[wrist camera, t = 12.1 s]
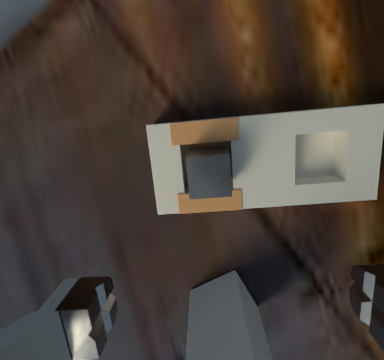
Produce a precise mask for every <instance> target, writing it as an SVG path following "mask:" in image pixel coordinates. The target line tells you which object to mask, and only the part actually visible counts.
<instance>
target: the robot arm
mask: <svg viewBox="0 0 384 360" xmlns="http://www.w3.org/2000/svg"><path fill="white" fill-rule="evenodd" d="M351 277H352V278H353V280H354V281H355V283H354V284H353V285H352V286H351V287H350V296H349V297H350V301H351V305H352V308H353V310H354V312H355V314H356V315H357V316H358V318H359V319H360V320H361V321H363V322H365V323H366V324H368V325H370V328H369V332H370V334H371V335H372V336H373V338H374V339H375V340H376V342H377V343H378V344H379V346H380V347H381V348H382V350H383V351H384V264H367V265H354V266H353V268H352V270H351ZM113 287H114V286H113V282H112V279H111V278H110V277H109V276H108V277H82V278H81V277H74V278H67V279H65V280H64V281H63V282H62V283H61V284H60V286H59V287H58V288H57V289H56V290H55V291H54V293H53V294H52V295H51V296H50V297H49V299H48V300H47V301H46V302H45V303H44V304H43V306H42V307H41V308H40V309H39V310H38V311H37V312H32V313H30V314H28V315H27V316H25V317H23V318H21V319H20V320H18V321H16V322H15V323H13V324H11V325H9V326H8V327H6V328H4V329H2V330H1V331H0V360H89V359H99V358H100V355H101V353H102V351H103V349H104V346H105V344H106V342H107V336H106V333H107V332H108V331H109V330H110V329H112V328H113V325H114V323H115V320H116V314H117V302H116V298H115V297H114V296H113V295H112V294H111V291H112V289H113Z"/></svg>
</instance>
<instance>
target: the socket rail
mask: <svg viewBox="0 0 384 360" xmlns="http://www.w3.org/2000/svg"><path fill="white" fill-rule="evenodd" d="M146 130H147V137H148V144H149V152H150V159H151V167H152V174H153V182H154V189H155V197H156V204H157V212H158V215H161V214H175V213H179V214H185V213H199V212H214V211H228V210H242V209H247V208H262V207H276V206H291V205H305V204H320V203H334V202H349V201H363V200H377V192H378V182H379V172H380V162H381V152H382V142H383V132H384V104H367V105H354V106H343V107H332V108H321V109H311V110H300V111H289V112H278V113H267V114H256V115H245V116H234V117H224V118H213V119H202V120H191V121H180V122H169V123H158V124H151V125H146ZM215 145H224V146H225V148H226V149H227V150H228V152H229V153H230V164H231V183H232V197H218V198H205V199H191V200H190V198H189V188H188V178H187V168H186V155H187V153H188V150H189V148H192V147H203V146H215Z"/></svg>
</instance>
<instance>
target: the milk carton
mask: <svg viewBox="0 0 384 360" xmlns="http://www.w3.org/2000/svg"><path fill="white" fill-rule="evenodd" d="M186 360H272V356H271V353H270V349H269V346H268V342H267V339H266V335H265V332H264V328H263V325H262V321H261V318H260V314H259V311H258V307H257V305H256V304H255V302H254V300H253V299H252V297H251V295H250V294H249V292H248V290H247V289H246V287H245V285H244V284H243V282H242V280H241V279H240V277H239V275H238V274H237V272H236V271H235V270H233V271H231V272H229V273H227V274H224V275H222V276H220V277H218V278H216V279H214V280H212V281H209V282H207V283H205V284H203V285H201V286H199V287H197V288H195V289H192V290H191V292H190V306H189V321H188V336H187V351H186Z"/></svg>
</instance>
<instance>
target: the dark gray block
mask: <svg viewBox="0 0 384 360" xmlns="http://www.w3.org/2000/svg"><path fill="white" fill-rule="evenodd" d="M186 168H187V178H188V188H189V198H190V200H191V199H205V198H218V197H232V183H231V164H230V153H229V152H228V150H227V149H226V148H225V146H224V145H215V146H203V147H192V148H189V150H188V153H187V155H186Z"/></svg>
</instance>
